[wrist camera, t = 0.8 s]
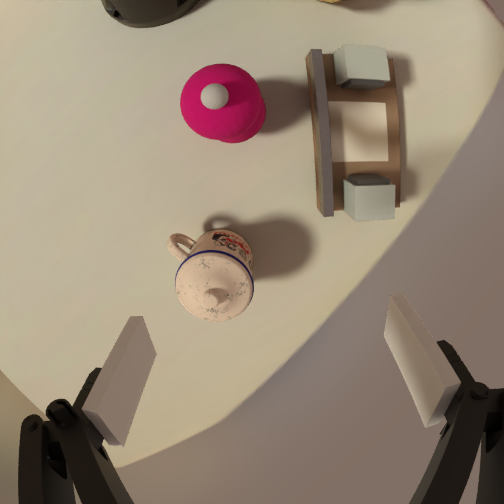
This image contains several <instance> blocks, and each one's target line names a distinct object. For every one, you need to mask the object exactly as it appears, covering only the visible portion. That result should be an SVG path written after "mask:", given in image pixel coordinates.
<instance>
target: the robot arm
mask: <svg viewBox="0 0 504 504" xmlns="http://www.w3.org/2000/svg"><path fill="white" fill-rule="evenodd" d="M101 1H102V3H103V6H104V8H105V10H106V11H107V13H108V14H109V15H110V16H111V17H112V18H114V19H115V20H117V21H118V22H120V23H121V24H124V25H126V26H129V27H134V28H149V27H155V26H159V25H163V24H166V23H168V22H171V21H173V20H175V19H177V18H179V17H181V16H182V15H184V14H185V13H187V12H188V11H189V10H191V9H192V8H193V7H194V6H195V5H196V4H197V3H198V2H199V1H200V0H101ZM384 337H385V339H386V341H387V343H388V345H389V347H390V350H391V351H392V354H393V356H394V358H395V360H396V362H397V364H398V366H399V368H400V371H401V373H402V374H403V377H404V379H405V382H406V384H407V386H408V388H409V390H410V393H411V395H412V397H413V399H414V402H415V404H416V406H417V409H418V411H419V414H420V416H421V418H422V421H423V423H424V426H425V427H429V426H432V425H435V424H438V423H440V422H441V420H442V418H443V417H444V416H445V418H446V420H447V423H446V424H445V426H444V428H443V429H442V431H441V432H440V435H441V437H440V440H439V442H438V445H437V447H436V449H435V452H434V454H433V456H432V459H431V461H430V463H429V465H428V467H427V470H426V472H425V474H424V476H423V478H422V480H421V482H420V484H419V486H418V488H417V490H416V492H415V494H414V495H413V497H412V499H411V501H410V503H409V504H459V501H460V499H461V496H462V494H463V491H464V489H465V486H466V484H467V481H468V479H469V476H470V473H471V470H472V467H473V464H474V461H475V458H476V455H477V451H478V448H479V445H480V441H481V461H480V474H479V483H478V493H477V499H476V504H504V388H501V389H489V388H488V387H487V386H486V385H485V384H483V383H480V382H475V381H474V379H473V377H472V376H471V374H470V372H469V371H468V369H467V368H466V366H465V365H464V363H463V362H462V361H461V359H460V357H459V355H457V353H456V351H455V349H454V348H453V347H452V345H450V344H449V343H448V342H446V341H445V340H442V341H438V342H436V341H435V339H434V338H433V337H432V335H431V334H430V332H429V330H428V329H427V327H426V326H425V324H424V323H423V321H422V320H421V319H420V317H419V316H418V314H417V313H416V311H415V310H414V308H413V307H412V305H411V304H410V303H409V301H408V300H407V299H406V297H405V296H404V294H396V295H390V302H389V308H388V314H387V320H386V326H385V332H384ZM155 357H156V351H155V349H154V346H153V343H152V341H151V338H150V335H149V333H148V330H147V327H146V324H145V322H144V319H143V316H131V317H130V318H129V320H128V322H127V323H126V325H125V327H124V329H123V330H122V332H121V334H120V336H119V338H118V339H117V341H116V343H115V345H114V347H113V349H112V351H111V352H110V354H109V356H108V358H107V360H106V362H105V364H104V366H103V368H95V369H94V370H93V371H92V372H91V373H90V374H89V376H88V377H87V379H86V381H85V383H84V385H83V387H82V390H81V391H80V393H79V395H78V396H77V398H76V400H75V402H74V404H73V406H71V404H70V403H69V402H68V401H67V400H65V399H57V400H54V401H53V402H51V403H50V404H49V405H48V407H47V409H46V416H47V417H48V418H49V419H50V421H43V420H42V418H41V417H40V416H38V415H36V414H32V415H30V416H28V417H27V418H25V419H24V421H23V422H22V426H21V433H20V446H19V466H18V496H19V504H76V502H75V495H74V487H73V483H74V485H75V488H76V490H77V493H78V495H79V497H80V500H81V502H82V504H134V503H133V501H132V499H131V498H130V496H129V494H128V492H127V491H126V489H125V487H124V485H123V483H122V482H121V480H120V478H119V476H118V474H117V472H116V470H115V468H114V466H113V464H112V462H111V460H110V458H109V456H108V454H107V452H106V450H105V448H104V447H103V445H102V442H103V440H104V439H105V440H106V441H107V443H108V444H109V445H112V446H118V447H124V445H125V442H126V439H127V436H128V433H129V430H130V427H131V424H132V421H133V418H134V415H135V412H136V409H137V406H138V403H139V401H140V398H141V395H142V392H143V389H144V387H145V384H146V381H147V378H148V376H149V373H150V370H151V367H152V365H153V362H154V359H155Z"/></svg>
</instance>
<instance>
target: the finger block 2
mask: <svg viewBox="0 0 504 504" xmlns="http://www.w3.org/2000/svg"><path fill="white" fill-rule="evenodd" d="M343 202H344V211H345V212H346V213H347V214H348V215H349V216H350V217H351V218H352V219H353V220H354V221H369V220H386V219H394V218H395V185H394V184H392V183H390V179H388V178H386V177H383V176H381V175H378V174H362V175H348V179H343Z"/></svg>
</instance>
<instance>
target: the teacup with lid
mask: <svg viewBox="0 0 504 504" xmlns="http://www.w3.org/2000/svg"><path fill="white" fill-rule="evenodd" d="M176 242H177V243H181V244H183V245H184V246H186V247H187V248H189V249H190V250H191V251H190V252H189V254H188V253H187V252H185V251H184V250H183V249H181V248H180V247H179V246H178V244H177V243H176ZM167 247H168V249H169V250H170V252H171V253H172V254H173V255H174V256H175V257H176V258H178V259H179V260H180V261H181V262H183V263H182V264H181V265H180V267H179V269H178V271H177V274H176V278H175V287H176V292H177V295H178V298H179V300H180V301H181V303H182V304H183V306H184V307H185V308H186V309H187V310H188V311H189V312H191V313H192V314H193V315H195V316H197V317H199V318H201V319H204V320H208V321H225V320H229V319H232V318H234V317H236V316H238V315H239V314H240V313H242V312H243V311H244V310H245V309H246V308H247V306H248V305H249V303H250V301H251V299H252V296H253V292H254V283H253V279H252V268H253V256H252V251H251V249H250V247H249V245H248V243H247V242H246V241H245V240H244V239H243V238H242V237H241V236H240V235H238V234H236V233H234V232H232V231H229V230H222V229H218V230H212V231H209V232H207V233H205V234H203V235H202V236H200V237H199V238H198V239H197V240H196V242H195V241H194V240H192V239H191V238H189V237H188V236H186V235H183V234H179V233H176V234H173V235H171V236H170V237H169V239H168V240H167Z"/></svg>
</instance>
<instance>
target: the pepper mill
mask: <svg viewBox="0 0 504 504" xmlns="http://www.w3.org/2000/svg"><path fill="white" fill-rule="evenodd" d="M180 107H181V112H182V115H183V117H184V120H185V121H186V123H187V124H188V126H189V127H190V128H191V129H192V130H194V131H195V132H196V133H197V134H199V135H201V136H203V137H206V138H209V139H215V140H220V141H222V142H226V143H239V142H243V141H246V140H248V139H250V138H252V137H253V136H254V135H255V134H257V132H258V131H259V130H260V129H261V127H262V125H263V123H264V120H265V116H266V108H265V103H264V101H263V98H262V97H261V94H260V89H259V87H258V85H257V83H256V82H255V80H254V79H253V78H252V77H251V75H250V74H249V73H247V72H246V71H245V70H243V69H241V68H239V67H237V66H234V65H230V64H214V65H209V66H206V67H204V68H202V69H200V70H199V71H197V72H196V73H194V74H193V75H192V76H191V77H190V78H189V80H188V81H187V83H186V84H185V86H184V88H183V91H182V94H181V99H180Z"/></svg>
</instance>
